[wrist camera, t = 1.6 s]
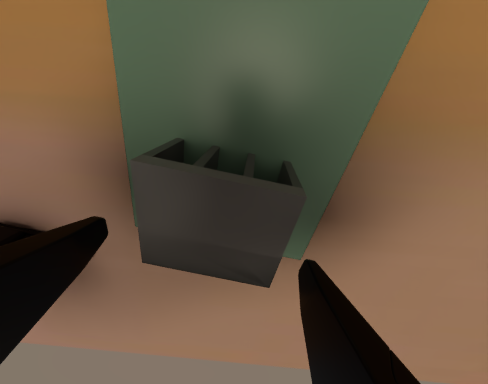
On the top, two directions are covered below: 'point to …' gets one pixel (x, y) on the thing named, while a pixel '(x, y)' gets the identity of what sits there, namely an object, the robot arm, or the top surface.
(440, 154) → the top surface
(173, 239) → the plug
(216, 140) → the header board
